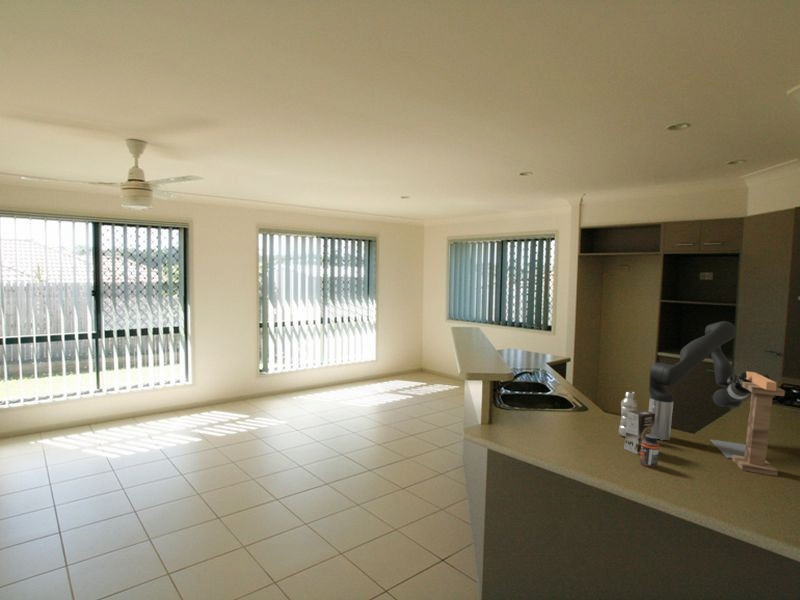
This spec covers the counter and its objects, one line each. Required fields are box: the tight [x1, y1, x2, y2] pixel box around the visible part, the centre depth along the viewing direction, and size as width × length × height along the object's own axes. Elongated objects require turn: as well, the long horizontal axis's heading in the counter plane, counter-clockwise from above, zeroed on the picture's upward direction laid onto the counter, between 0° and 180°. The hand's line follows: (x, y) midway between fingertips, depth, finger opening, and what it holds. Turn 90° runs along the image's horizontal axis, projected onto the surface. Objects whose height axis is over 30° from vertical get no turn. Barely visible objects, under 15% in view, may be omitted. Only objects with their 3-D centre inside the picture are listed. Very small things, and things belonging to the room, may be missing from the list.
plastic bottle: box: [618, 390, 638, 438], centre depth 206 cm, size 6×7×20 cm
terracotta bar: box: [745, 371, 778, 391], centre depth 180 cm, size 20×3×3 cm, turn 161°
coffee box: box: [623, 409, 655, 455], centre depth 189 cm, size 9×6×16 cm
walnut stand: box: [731, 382, 786, 477], centre depth 178 cm, size 11×11×32 cm
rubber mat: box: [710, 439, 746, 460], centre depth 195 cm, size 22×14×1 cm, turn 161°
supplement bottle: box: [639, 434, 660, 469], centre depth 175 cm, size 6×6×11 cm
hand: (756, 375), depth 183 cm, fingers open, 6 cm apart
